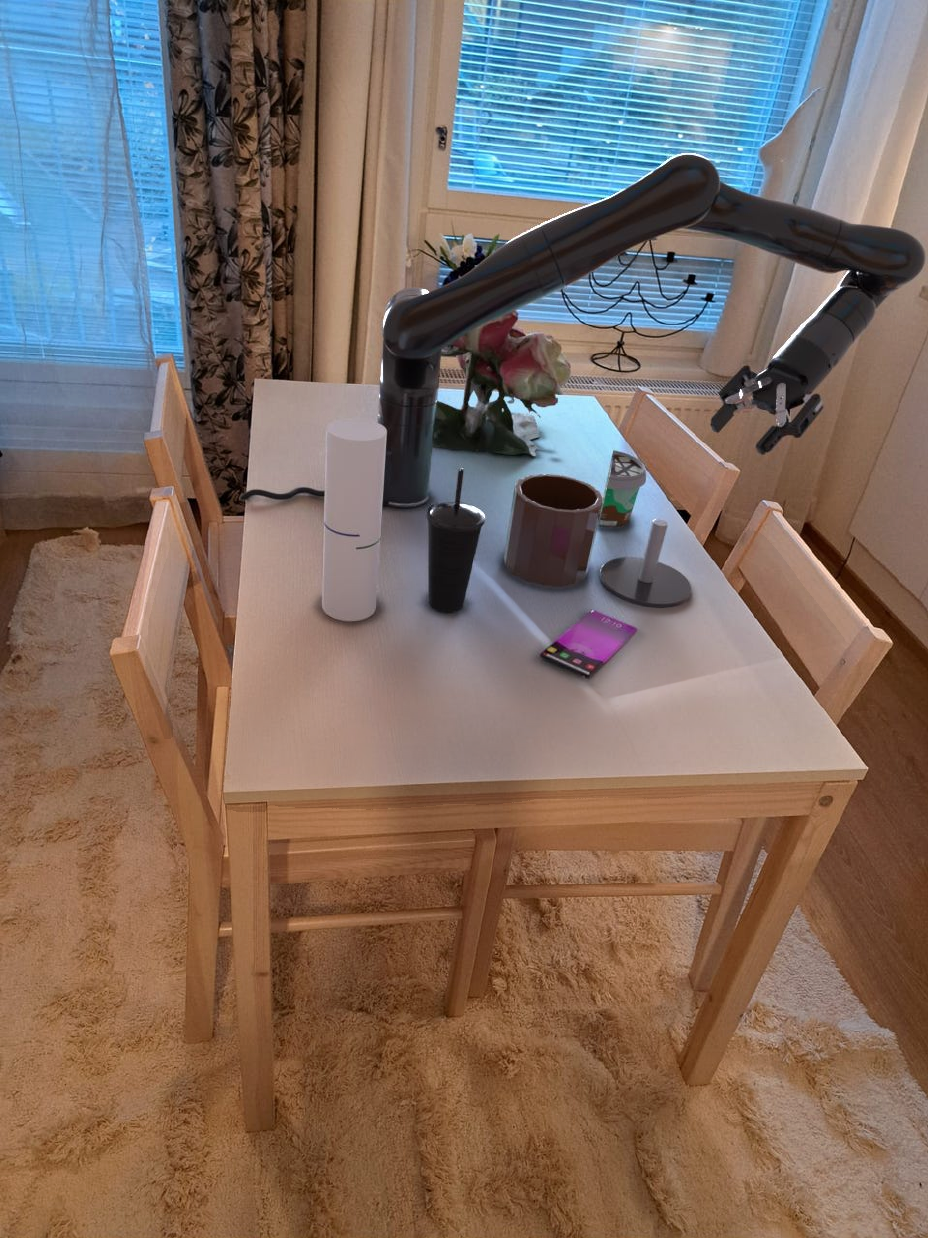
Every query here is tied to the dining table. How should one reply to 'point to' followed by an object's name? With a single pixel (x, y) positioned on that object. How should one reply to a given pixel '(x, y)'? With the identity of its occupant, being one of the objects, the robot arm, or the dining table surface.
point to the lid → (647, 575)
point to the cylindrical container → (352, 517)
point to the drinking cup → (451, 550)
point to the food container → (621, 489)
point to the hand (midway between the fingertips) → (735, 439)
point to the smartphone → (589, 643)
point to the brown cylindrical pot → (552, 529)
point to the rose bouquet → (501, 387)
